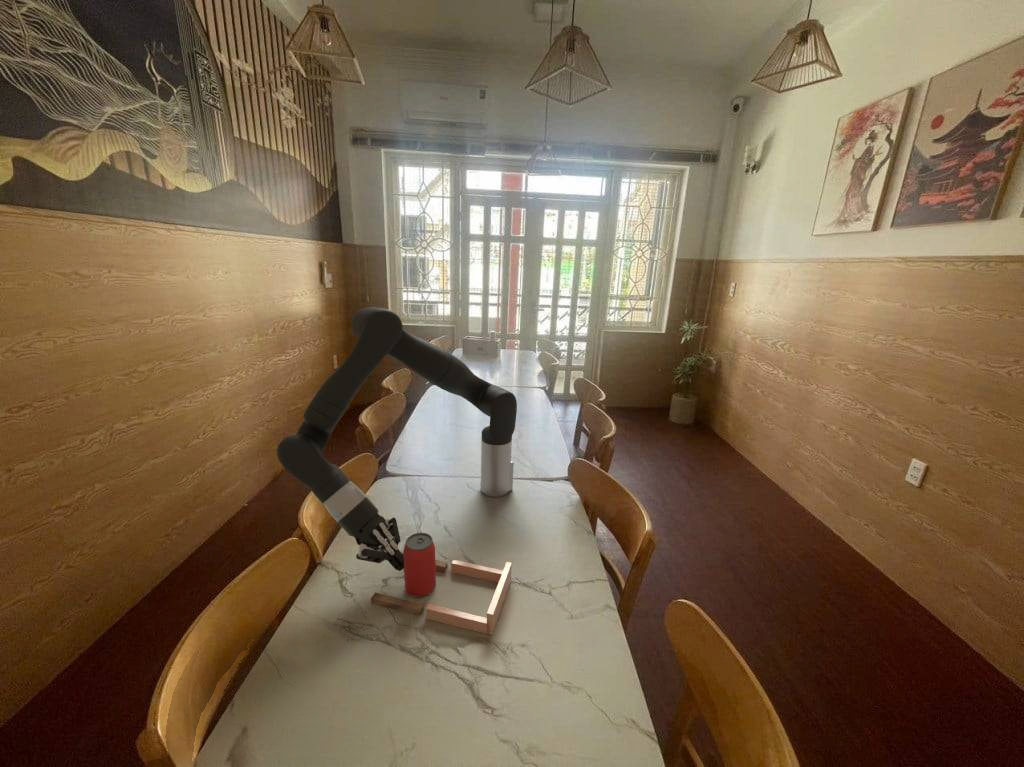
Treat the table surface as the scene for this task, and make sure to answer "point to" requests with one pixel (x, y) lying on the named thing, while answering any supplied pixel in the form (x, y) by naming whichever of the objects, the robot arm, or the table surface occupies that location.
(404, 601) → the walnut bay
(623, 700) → the table surface
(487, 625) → the terracotta bay
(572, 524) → the table surface
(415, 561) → the beer can
